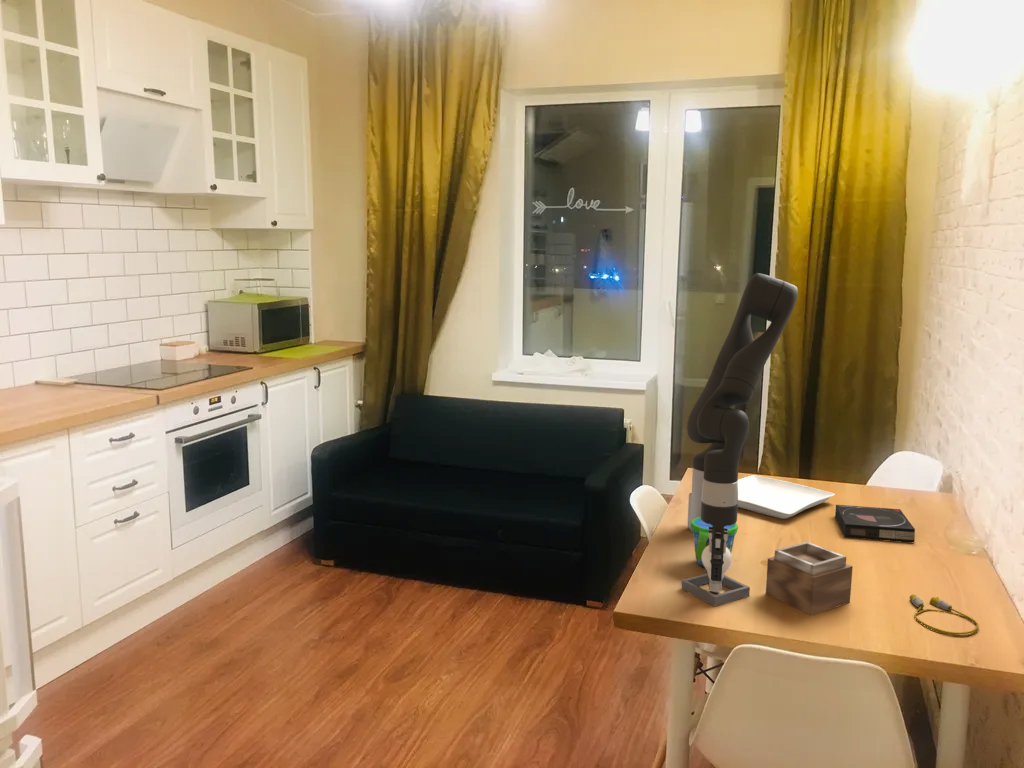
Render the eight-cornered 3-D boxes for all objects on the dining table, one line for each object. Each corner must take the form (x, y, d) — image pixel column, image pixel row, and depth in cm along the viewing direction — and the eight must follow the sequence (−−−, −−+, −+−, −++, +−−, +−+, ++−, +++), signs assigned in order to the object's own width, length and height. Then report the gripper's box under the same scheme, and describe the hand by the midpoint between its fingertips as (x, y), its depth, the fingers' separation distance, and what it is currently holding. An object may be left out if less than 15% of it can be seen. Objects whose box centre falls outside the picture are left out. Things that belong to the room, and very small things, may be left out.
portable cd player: (844, 539, 208) (846, 524, 208) (834, 518, 225) (835, 504, 224) (914, 545, 204) (915, 530, 204) (898, 523, 221) (900, 509, 220)
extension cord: (974, 610, 168) (975, 601, 167) (981, 643, 154) (982, 633, 153) (909, 599, 173) (909, 590, 172) (910, 630, 159) (911, 621, 158)
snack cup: (707, 549, 200) (709, 510, 198) (748, 560, 193) (750, 519, 191) (675, 568, 188) (677, 526, 187) (717, 580, 181) (719, 536, 180)
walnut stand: (765, 593, 174) (768, 549, 173) (803, 582, 180) (806, 539, 179) (811, 615, 164) (814, 568, 163) (849, 602, 170) (853, 557, 169)
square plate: (752, 484, 256) (752, 473, 255) (835, 505, 236) (836, 492, 235) (702, 502, 238) (703, 490, 237) (788, 526, 218) (789, 512, 217)
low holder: (681, 588, 177) (681, 580, 176) (715, 579, 182) (715, 571, 181) (714, 606, 168) (715, 597, 168) (749, 595, 173) (749, 587, 173)
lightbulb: (696, 586, 178) (698, 539, 176) (724, 585, 178) (726, 538, 176) (705, 599, 172) (707, 550, 170) (734, 598, 172) (736, 549, 170)
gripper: (738, 511, 164) (734, 589, 166) (737, 491, 177) (733, 563, 180) (700, 508, 166) (697, 585, 168) (702, 488, 179) (699, 560, 182)
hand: (716, 574), depth 174 cm, fingers closed on lightbulb, 6 cm apart
